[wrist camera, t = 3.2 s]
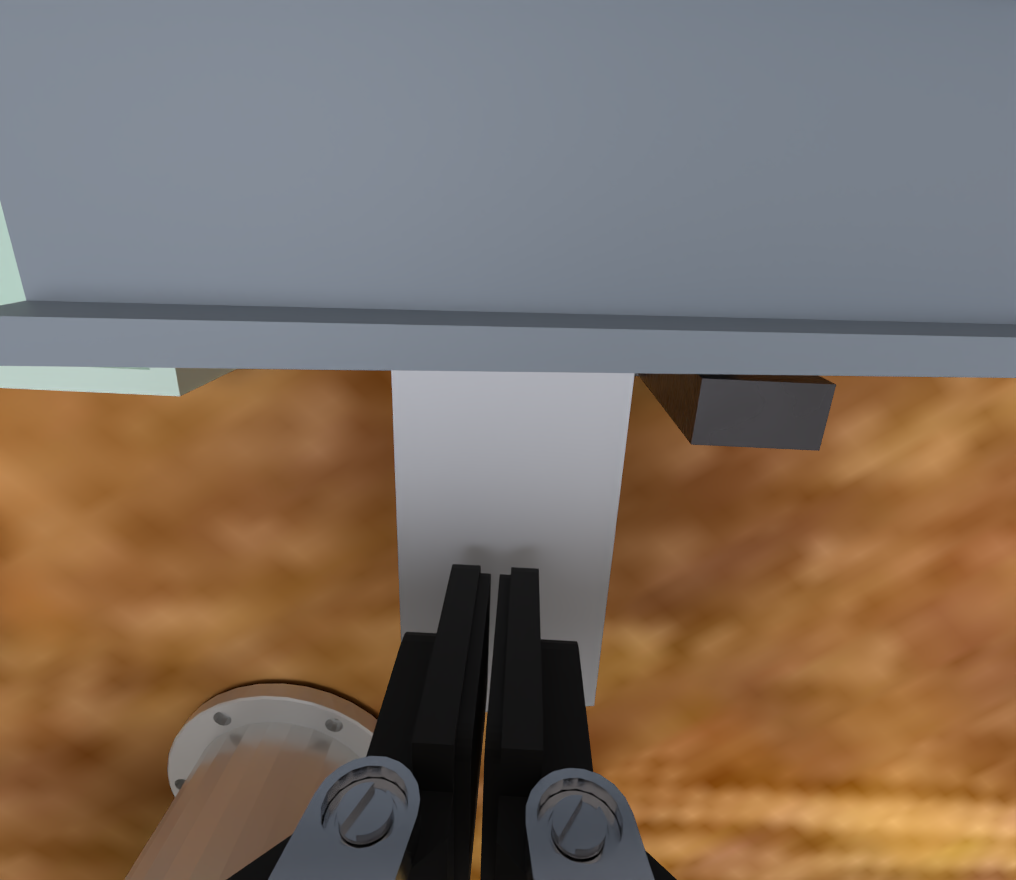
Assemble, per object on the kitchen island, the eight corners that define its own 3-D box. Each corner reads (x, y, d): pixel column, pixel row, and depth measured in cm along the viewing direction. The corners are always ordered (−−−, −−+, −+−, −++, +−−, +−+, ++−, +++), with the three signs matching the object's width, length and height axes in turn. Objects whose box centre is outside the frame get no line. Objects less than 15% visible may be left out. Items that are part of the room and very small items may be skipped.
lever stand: (729, 375, 22) (857, 468, 13) (600, 369, 22) (646, 457, 13) (805, -40, 17) (1076, -302, 9) (641, -45, 17) (752, -309, 9)
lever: (1067, 560, 20) (1274, 672, 15) (184, 588, 17) (72, 743, 12) (1308, 38, 14) (1766, -61, 9) (50, -83, 11) (-275, -338, 6)
